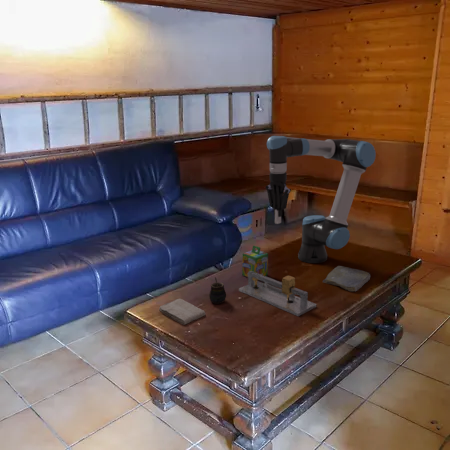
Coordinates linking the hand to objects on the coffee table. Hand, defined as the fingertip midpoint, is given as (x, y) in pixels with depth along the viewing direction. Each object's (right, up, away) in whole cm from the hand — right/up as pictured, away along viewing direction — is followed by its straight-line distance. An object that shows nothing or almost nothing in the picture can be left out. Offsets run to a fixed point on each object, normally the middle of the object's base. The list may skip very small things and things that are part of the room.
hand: (278, 222), depth 215 cm
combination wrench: (0, -32, -6) cm, 33 cm away
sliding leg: (+3, -33, -14) cm, 36 cm away
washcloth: (-42, -38, -20) cm, 60 cm away
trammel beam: (-2, -33, -9) cm, 34 cm away
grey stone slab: (+33, -28, +7) cm, 44 cm away
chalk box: (-9, -26, +15) cm, 31 cm away
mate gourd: (-27, -34, -11) cm, 45 cm away
